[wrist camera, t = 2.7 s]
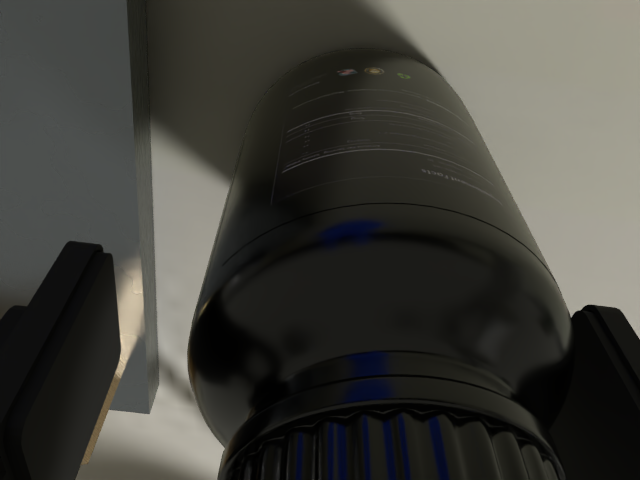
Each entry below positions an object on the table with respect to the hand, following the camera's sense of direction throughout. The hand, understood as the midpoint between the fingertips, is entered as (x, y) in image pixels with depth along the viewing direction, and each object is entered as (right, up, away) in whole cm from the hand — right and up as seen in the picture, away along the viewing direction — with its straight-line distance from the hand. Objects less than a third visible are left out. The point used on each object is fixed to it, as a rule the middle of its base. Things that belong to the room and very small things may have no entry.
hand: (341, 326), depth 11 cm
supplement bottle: (+1, +4, +5) cm, 7 cm away
